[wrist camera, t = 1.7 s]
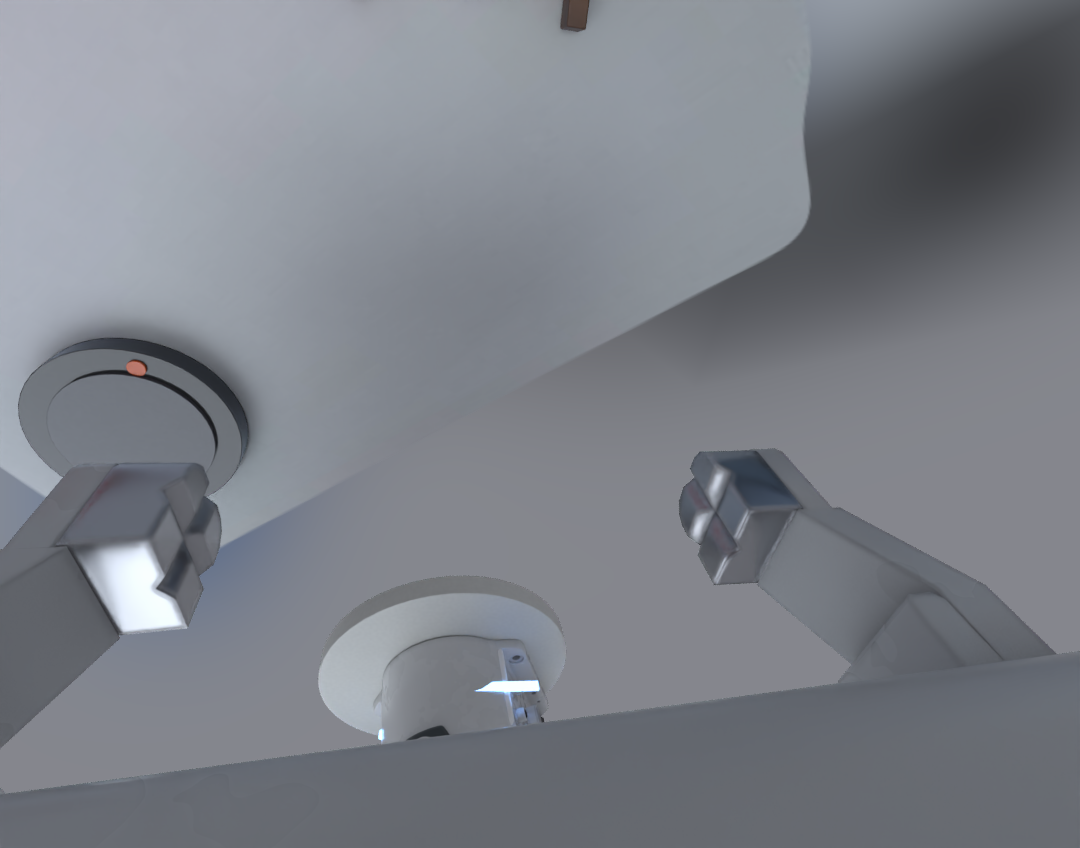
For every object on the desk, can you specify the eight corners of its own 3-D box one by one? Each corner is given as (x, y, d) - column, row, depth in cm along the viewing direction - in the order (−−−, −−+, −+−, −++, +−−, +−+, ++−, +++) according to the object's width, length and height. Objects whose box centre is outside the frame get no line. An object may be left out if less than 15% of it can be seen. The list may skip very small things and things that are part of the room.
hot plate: (286, 447, 37) (280, 462, 36) (145, 516, 38) (134, 534, 37) (148, 303, 31) (134, 315, 29) (-18, 393, 32) (-40, 408, 30)
